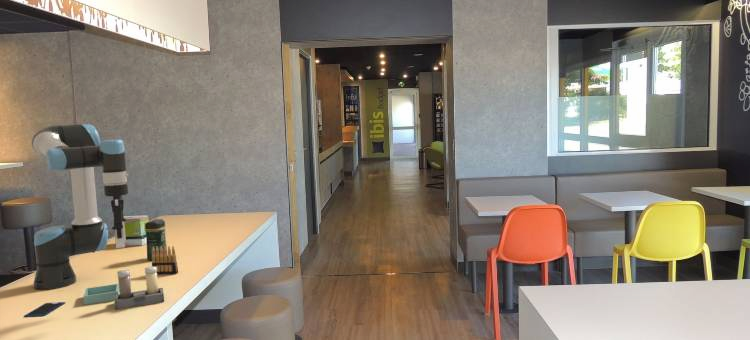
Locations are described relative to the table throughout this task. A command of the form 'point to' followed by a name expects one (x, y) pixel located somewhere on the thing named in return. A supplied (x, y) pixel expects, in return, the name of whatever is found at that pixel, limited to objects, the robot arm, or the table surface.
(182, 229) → the table surface
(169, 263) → the ammunition clip
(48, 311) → the cell phone
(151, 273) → the white rounded cylinder
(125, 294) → the fuse
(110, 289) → the parts tray
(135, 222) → the tea box
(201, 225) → the table surface
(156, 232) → the coffee jar
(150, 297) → the block
